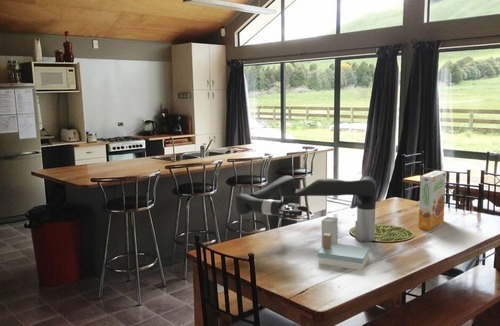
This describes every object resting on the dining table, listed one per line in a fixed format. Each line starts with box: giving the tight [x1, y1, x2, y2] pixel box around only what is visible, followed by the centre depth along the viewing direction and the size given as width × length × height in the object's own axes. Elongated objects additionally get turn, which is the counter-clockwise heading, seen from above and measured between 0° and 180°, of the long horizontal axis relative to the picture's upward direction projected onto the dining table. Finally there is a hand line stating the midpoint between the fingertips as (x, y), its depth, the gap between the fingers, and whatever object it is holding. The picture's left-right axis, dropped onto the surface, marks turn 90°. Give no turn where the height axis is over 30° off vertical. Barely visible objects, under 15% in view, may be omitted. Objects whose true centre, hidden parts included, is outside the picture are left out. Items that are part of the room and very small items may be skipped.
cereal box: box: [418, 170, 447, 231], centre depth 262 cm, size 22×6×30 cm, turn 138°
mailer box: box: [318, 252, 370, 271], centre depth 209 cm, size 20×14×4 cm
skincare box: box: [321, 216, 339, 248], centre depth 227 cm, size 8×6×15 cm
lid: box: [317, 233, 371, 264], centre depth 208 cm, size 20×16×9 cm
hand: (304, 210), depth 214 cm, fingers open, 8 cm apart
